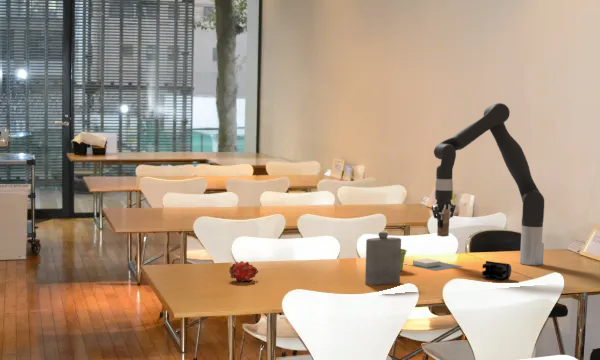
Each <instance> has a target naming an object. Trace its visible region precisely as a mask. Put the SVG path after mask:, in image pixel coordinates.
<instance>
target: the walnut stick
mask: <svg viewBox="0 0 600 360" xmlns="http://www.w3.org/2000/svg"><path fill="white" fill-rule="evenodd" d="M439 212H440V211H439ZM440 213H441V212H440ZM440 216H441V214H440ZM442 220H443V226H442V228H438V227H437V229H436V232H437V233H436V234H437V237H449V236H450V235H449V234H450V233H449V231H450V219H449V209H445V210H444V215H443V219H442Z"/></svg>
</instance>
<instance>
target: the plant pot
mask: <svg viewBox="0 0 600 360" xmlns="http://www.w3.org/2000/svg"><path fill="white" fill-rule="evenodd" d="M406 252H407V249H405V248H401V260H400V272H401V271H403V267H404V264H403V263H404V262H405V256H406V254H407V253H406Z"/></svg>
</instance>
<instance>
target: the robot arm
mask: <svg viewBox="0 0 600 360" xmlns="http://www.w3.org/2000/svg"><path fill="white" fill-rule="evenodd" d="M510 113H511V112H510V107H508V106H507V105H506V104H504V103H501V102H499V103H498V102H497V103H495V104H492V105H489V106H488V107H485V110H484V111H483V115H482V117H480V118H479V119H478V120H476V121H474V122H472V123H471V124H469V125H467V126H466V127H464V128H463V129H461V130H460V131H458V132H457V133H455V134H454V135H453V136H451V137H449V138H447V139H445V140H443V141H441V142H440V143H437V144H436V145H435V147H434V149H433V156H434V157H435V158H436V159H438V160H440V165H438V166H437V167H436V173H435V177H436V178H435V187H434V188H435V194H434V195H435V196H434V197H435V200H436V203H435V205H432V206H431V210H432V211H431V212H432V214H433V218H434V219H436V220H437V224H436V225H437V228H442V226H443V220H442V219H443V215H444V210H445V209H449V220H450V219H451V218H453V217H454V213H455V209H456V204H454V203H453V204H452V200H453V194H454V193H453V192H454V189H453V188H454V185H453V184H454V182H453V169H454V165H455V162H456V161H455V160H456V157H457V152H456V151H459V150H462V149H464V148H466V147H467V146H468V145H470V144H472V143H473V142H474V141H476V140H477V139H478V138H479V137H481V136H482V135H483V134H485V133H486V132H487V131H490V132H491V134H492V136H493V138H494V140H495V142H496V145H497V148H498V149H499V152H500V153H501V156H502V159H503V161H504V163H505V165H506V166H505V167H506V168H507V170H508V171H509V173H510V175H511V177H512V179H513V180H514V181H515V184H516V186H517V188H518V190H519V191H518V192H519V195H520V197H521V200H522V201H521V202H522V215H521V231H520V233H521V234H520V251H519V252H520V255H519V256H520V257H519V263H520V264H522V265H527V266H541V265H544V254H545V253H544V250H545V244H544V243H543V230H544V229H543V227H544V220H545V219H544V216H545V198H544V195H543V194H542V193H541V192H540V190H539V188H538V187H537V185H536V182H535V180H533V177H532V174H531V173H532V172H531V170H530V166H529V162H528V159H527V157H526V155H525V153H524V150H523V149H522V146H521V145H520V144H519V143H518V141H517V140H516V139H515V138H514V137H513V136H512V135H511V134H510V133H509V131H508V129H507V127H506V124H505V122H507V121H508V119H509V117H510ZM439 211H440V212H441V213H440V212H439ZM440 214H441V216H440Z"/></svg>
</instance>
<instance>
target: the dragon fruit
mask: <svg viewBox="0 0 600 360" xmlns="http://www.w3.org/2000/svg"><path fill="white" fill-rule="evenodd" d="M228 272H229V275H230V278H231V279H235V281H236V282H244V281H245V282H246V281H247V282H252V281H254V279H253V278H255V277H256V275H257V274H258V273H259V270H258V269H257V268H256V266H254V265H253V264H250V263H249V261H246V262H244V260H243V261H234V263H232V265H231V266H230V267H229V270H228Z"/></svg>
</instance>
